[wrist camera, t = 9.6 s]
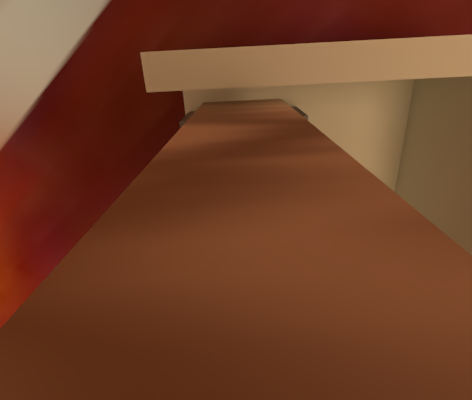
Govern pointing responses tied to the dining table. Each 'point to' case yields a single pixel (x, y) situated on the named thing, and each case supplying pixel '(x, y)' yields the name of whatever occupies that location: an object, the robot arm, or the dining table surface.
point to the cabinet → (357, 107)
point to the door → (249, 280)
